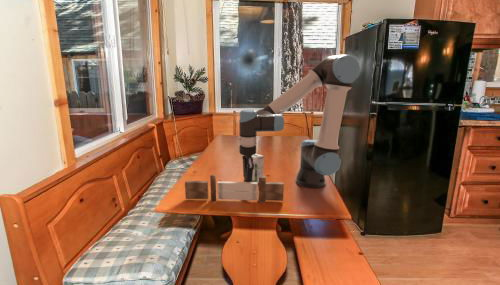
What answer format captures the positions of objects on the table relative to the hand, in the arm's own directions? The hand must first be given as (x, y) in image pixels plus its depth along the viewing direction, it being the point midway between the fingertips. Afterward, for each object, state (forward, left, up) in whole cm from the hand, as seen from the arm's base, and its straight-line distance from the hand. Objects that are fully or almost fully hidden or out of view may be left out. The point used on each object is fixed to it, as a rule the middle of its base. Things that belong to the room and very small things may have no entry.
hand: (247, 193), depth 136 cm
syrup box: (-4, -20, -2) cm, 20 cm away
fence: (+6, +4, -2) cm, 7 cm away
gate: (+4, +4, -1) cm, 6 cm away
